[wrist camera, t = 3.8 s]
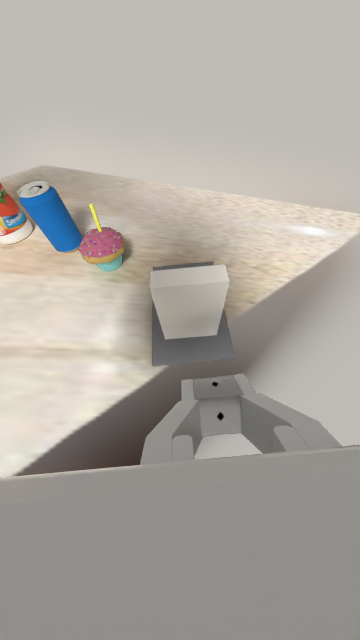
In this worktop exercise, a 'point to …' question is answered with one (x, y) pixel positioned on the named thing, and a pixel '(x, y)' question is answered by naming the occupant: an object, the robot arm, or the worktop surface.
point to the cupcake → (102, 246)
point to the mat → (190, 339)
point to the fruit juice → (12, 220)
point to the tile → (189, 299)
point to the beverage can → (50, 215)
